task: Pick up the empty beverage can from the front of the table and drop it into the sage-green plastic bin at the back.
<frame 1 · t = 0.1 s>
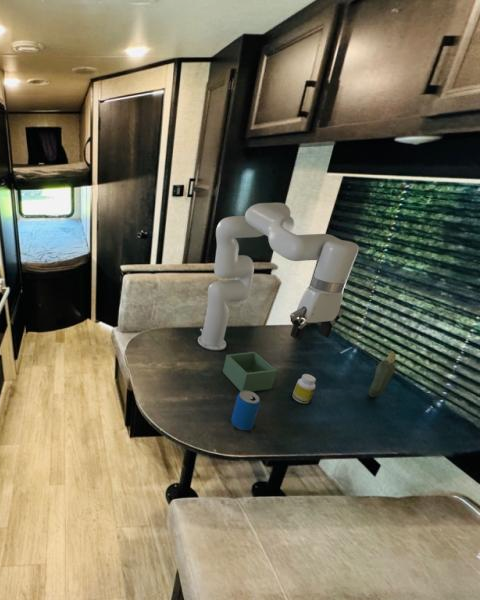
hand: (309, 336, 95), 31 cm above the table, tool pointing down, fingers open, 9 cm apart
supplement bottle: (300, 399, 115), on the table
olive brown bottle: (371, 397, 115), on the table
bin: (246, 380, 125), on the table
beverage can: (241, 424, 104), on the table
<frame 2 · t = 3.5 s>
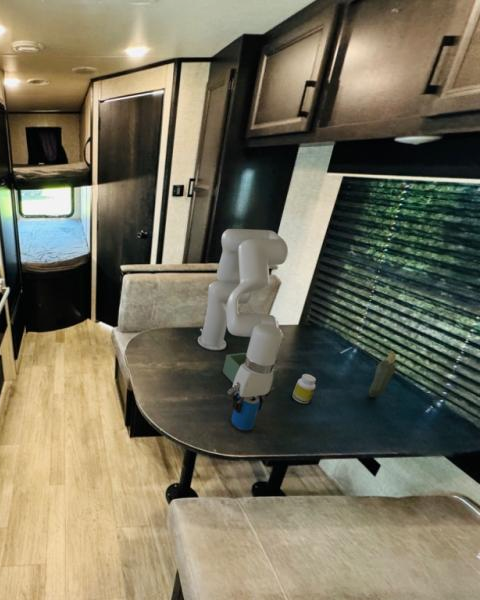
hand: (246, 408, 101), 7 cm above the table, tool pointing down, fingers closed on beverage can, 6 cm apart
beverage can: (241, 424, 104), on the table, touching gripper
everything else where it was.
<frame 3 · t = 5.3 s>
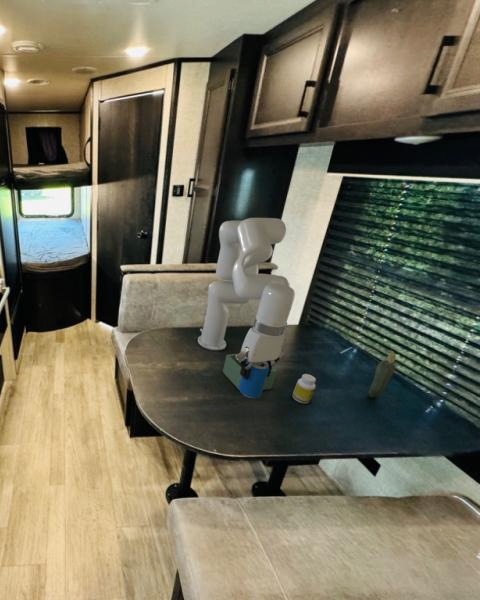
hand: (254, 375, 97), 19 cm above the table, tool pointing down, fingers closed on beverage can, 6 cm apart
beverage can: (249, 392, 101), point 12 cm above the table, touching gripper
everything else where it was.
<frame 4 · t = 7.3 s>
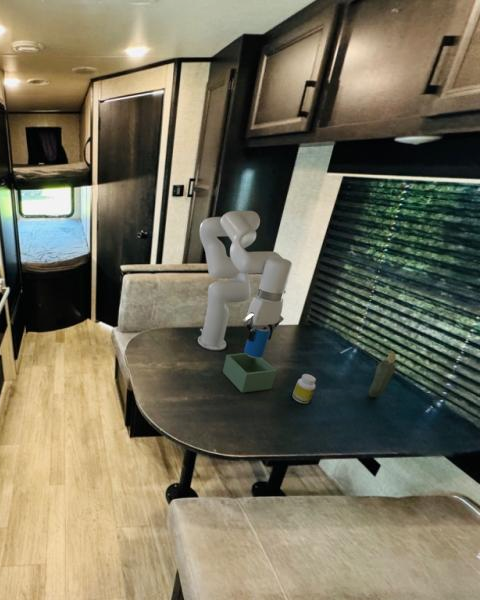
hand: (257, 338, 114), 21 cm above the table, tool pointing down, fingers closed on beverage can, 6 cm apart
beverage can: (253, 354, 117), point 14 cm above the table, touching gripper
everything else where it was.
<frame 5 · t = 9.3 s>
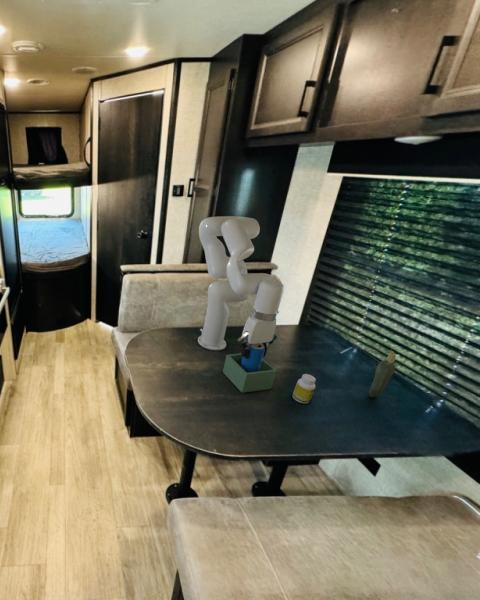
hand: (253, 355, 119), 12 cm above the table, tool pointing down, fingers closed on beverage can, 6 cm apart
beverage can: (248, 370, 122), point 5 cm above the table, touching gripper
everything else where it was.
when the fingers open (8 cm above the table, at t = 11.1 s): beverage can stays where it is, resting on bin.
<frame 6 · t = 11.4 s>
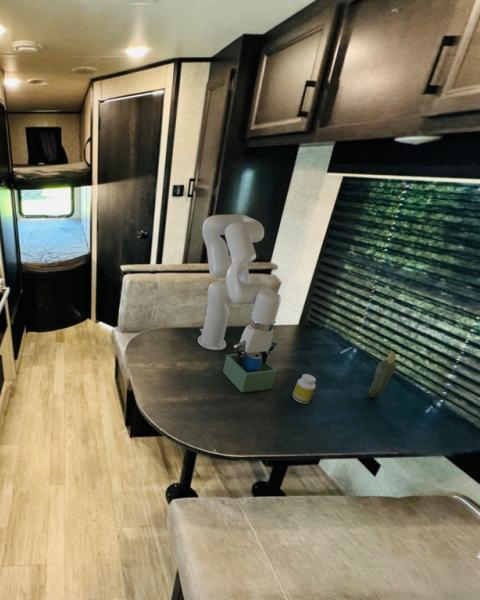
hand: (250, 362, 121), 8 cm above the table, tool pointing down, fingers open, 9 cm apart
beverage can: (246, 379, 124), resting on bin
everything else where it was.
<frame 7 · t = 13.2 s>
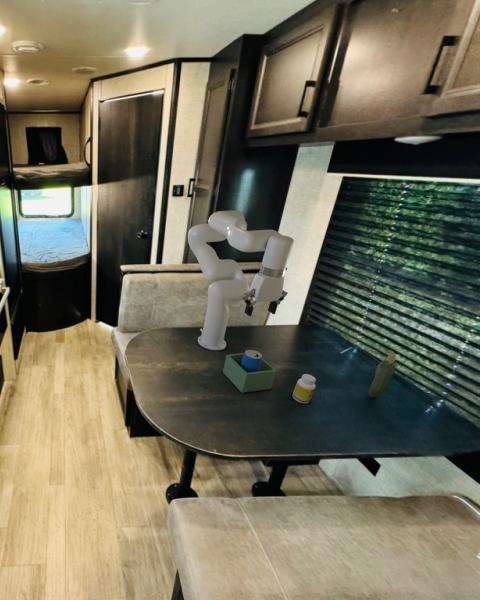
hand: (259, 313, 117), 27 cm above the table, tool pointing down, fingers open, 9 cm apart
nothing on the table moved.
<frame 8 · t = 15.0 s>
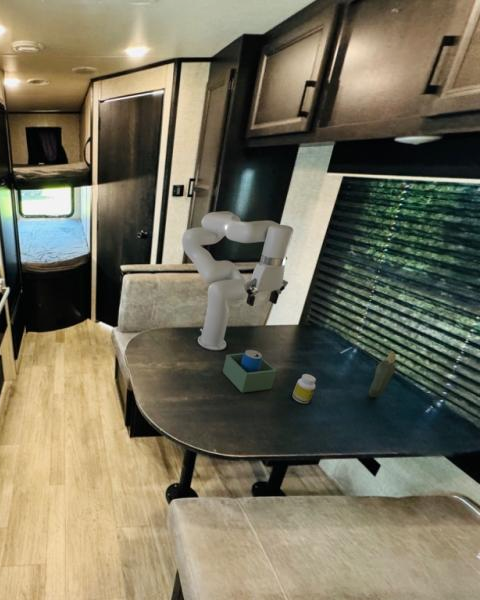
hand: (261, 303, 119), 30 cm above the table, tool pointing down, fingers open, 9 cm apart
nothing on the table moved.
at the end: beverage can inside the target area in the bin (0.1 cm from its centre), point 0.4 cm above the bin's base; the gripper is holding nothing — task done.
